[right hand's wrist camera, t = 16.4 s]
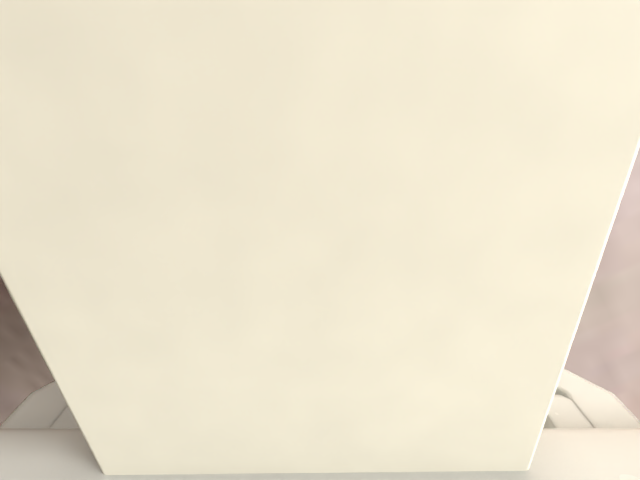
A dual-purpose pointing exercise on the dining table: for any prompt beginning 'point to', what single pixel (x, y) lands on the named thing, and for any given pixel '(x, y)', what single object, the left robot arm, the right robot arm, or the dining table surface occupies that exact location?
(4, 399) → the dining table surface
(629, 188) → the dining table surface
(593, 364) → the dining table surface
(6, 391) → the dining table surface
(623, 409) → the right robot arm
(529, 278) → the bar
